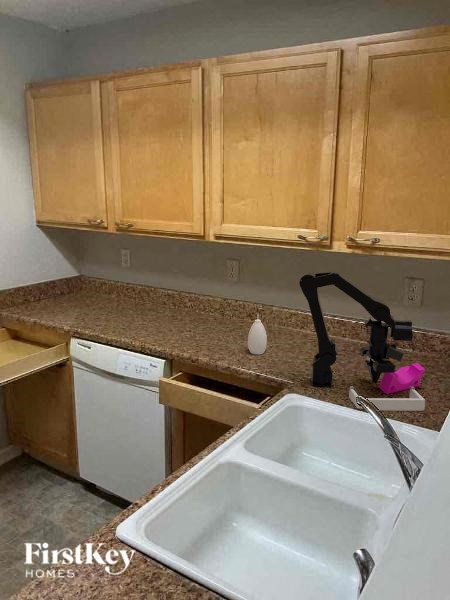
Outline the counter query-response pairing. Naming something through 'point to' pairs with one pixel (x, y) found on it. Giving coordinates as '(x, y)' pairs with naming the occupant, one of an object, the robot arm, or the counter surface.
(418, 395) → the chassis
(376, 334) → the robot arm
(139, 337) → the counter surface
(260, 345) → the sauce bottle
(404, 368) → the toy block
